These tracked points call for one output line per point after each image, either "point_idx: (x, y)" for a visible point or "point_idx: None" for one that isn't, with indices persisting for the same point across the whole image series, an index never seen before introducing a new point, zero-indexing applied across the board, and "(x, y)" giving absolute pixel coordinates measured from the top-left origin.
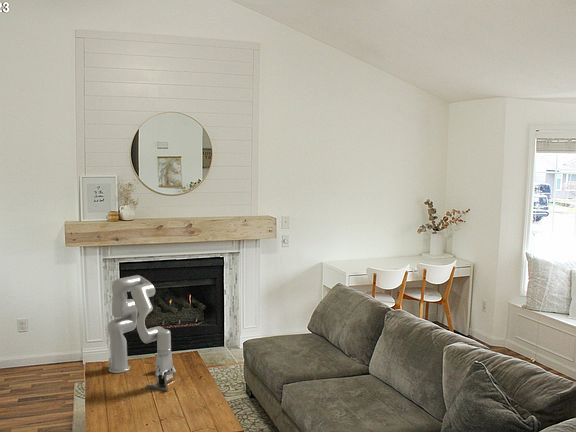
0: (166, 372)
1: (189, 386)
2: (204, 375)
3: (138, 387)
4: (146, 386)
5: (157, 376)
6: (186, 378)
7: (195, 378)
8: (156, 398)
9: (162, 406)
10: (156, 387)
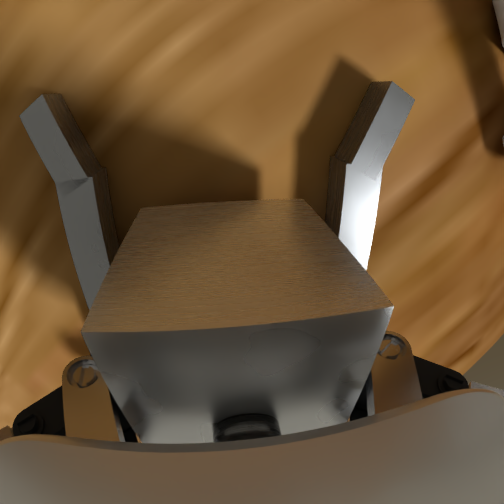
0: (309, 418)
1: None
2: (477, 353)
3: (21, 16)
4: (27, 115)
5: (29, 412)
6: (446, 310)
7: (443, 353)
8: (6, 362)
9: (9, 420)
10: (80, 262)
